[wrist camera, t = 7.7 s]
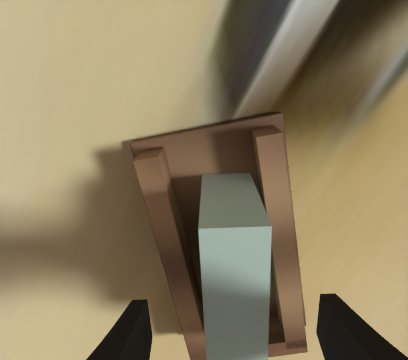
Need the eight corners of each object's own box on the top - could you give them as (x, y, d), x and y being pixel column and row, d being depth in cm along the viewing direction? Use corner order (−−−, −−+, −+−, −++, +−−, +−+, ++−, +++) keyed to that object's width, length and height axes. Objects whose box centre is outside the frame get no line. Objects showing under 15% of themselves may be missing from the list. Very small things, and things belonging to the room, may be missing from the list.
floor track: (303, 318, 20) (316, 352, 18) (187, 334, 21) (185, 369, 18) (279, 112, 16) (292, 119, 13) (133, 141, 16) (119, 153, 14)
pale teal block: (202, 174, 16) (198, 228, 11) (250, 172, 16) (271, 226, 11) (209, 306, 19) (209, 403, 14) (249, 305, 19) (266, 402, 14)
